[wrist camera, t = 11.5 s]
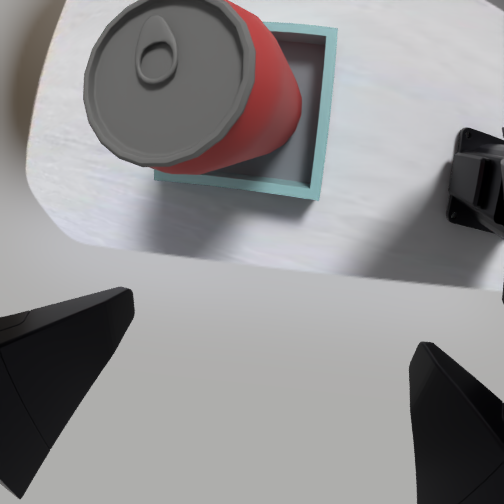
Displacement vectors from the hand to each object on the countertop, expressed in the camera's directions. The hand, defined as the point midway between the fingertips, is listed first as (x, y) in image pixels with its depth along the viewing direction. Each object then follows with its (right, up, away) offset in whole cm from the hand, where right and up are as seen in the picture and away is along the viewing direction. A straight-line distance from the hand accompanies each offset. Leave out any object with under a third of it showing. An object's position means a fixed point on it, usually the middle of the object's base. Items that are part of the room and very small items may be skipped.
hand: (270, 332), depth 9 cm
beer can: (-1, +11, +10) cm, 15 cm away
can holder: (-1, +12, +10) cm, 15 cm away
